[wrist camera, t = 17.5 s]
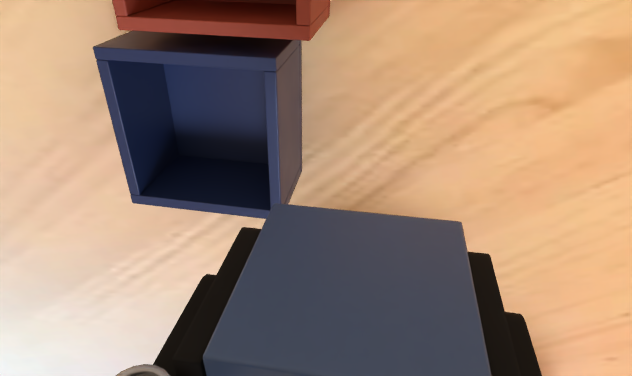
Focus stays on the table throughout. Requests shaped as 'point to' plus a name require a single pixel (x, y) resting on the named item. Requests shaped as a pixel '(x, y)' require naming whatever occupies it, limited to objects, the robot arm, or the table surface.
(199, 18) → the red bin
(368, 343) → the blue block
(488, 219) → the table surface
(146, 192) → the blue bin
